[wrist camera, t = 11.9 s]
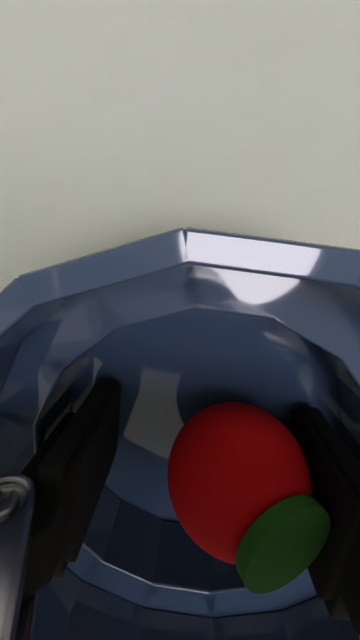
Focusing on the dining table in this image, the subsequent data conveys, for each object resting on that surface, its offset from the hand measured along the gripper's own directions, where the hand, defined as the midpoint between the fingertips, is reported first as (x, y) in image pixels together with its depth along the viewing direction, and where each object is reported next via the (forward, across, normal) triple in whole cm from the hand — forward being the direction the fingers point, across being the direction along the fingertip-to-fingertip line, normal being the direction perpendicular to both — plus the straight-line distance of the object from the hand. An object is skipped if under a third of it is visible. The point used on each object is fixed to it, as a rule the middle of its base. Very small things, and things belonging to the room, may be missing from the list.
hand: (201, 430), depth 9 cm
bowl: (+1, 0, 0) cm, 1 cm away
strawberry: (0, 0, 0) cm, 0 cm away
